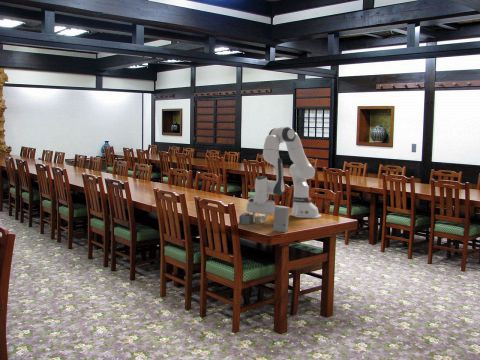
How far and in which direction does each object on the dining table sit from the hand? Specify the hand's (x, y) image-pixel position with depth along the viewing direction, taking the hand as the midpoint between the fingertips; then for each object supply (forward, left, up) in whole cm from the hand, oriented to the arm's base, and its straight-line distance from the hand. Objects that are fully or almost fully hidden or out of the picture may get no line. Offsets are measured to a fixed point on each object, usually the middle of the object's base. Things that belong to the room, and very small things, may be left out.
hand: (260, 219), depth 352 cm
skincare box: (-21, +23, -2) cm, 32 cm away
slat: (0, 0, -2) cm, 2 cm away
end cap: (+7, +9, -2) cm, 12 cm away
